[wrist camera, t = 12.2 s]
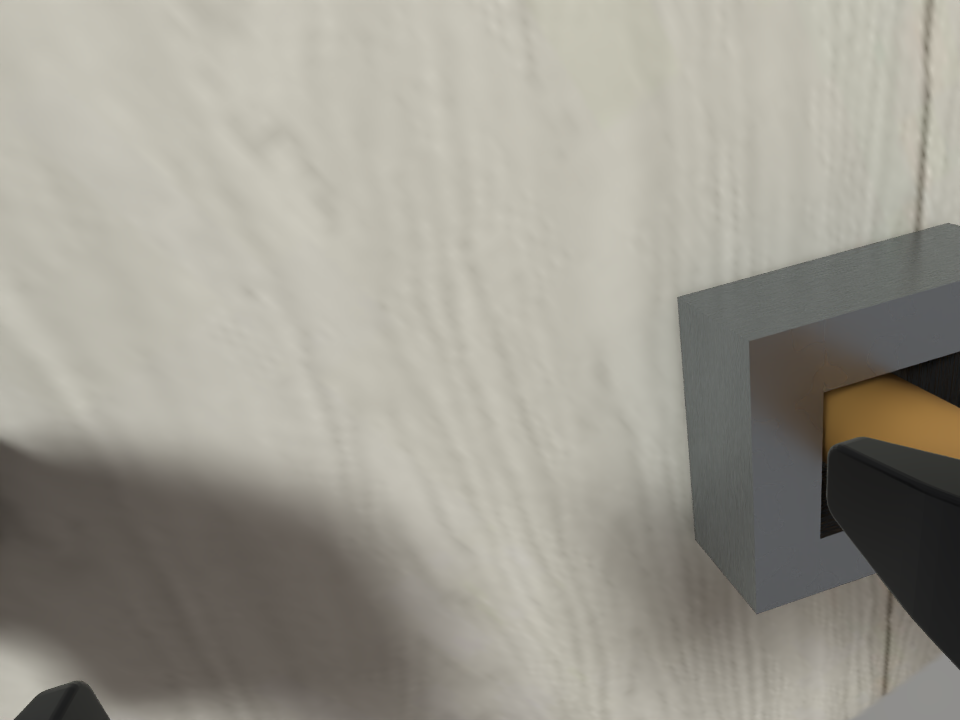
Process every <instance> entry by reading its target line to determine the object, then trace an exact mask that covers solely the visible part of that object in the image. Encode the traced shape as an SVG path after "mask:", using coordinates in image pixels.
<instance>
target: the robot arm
mask: <svg viewBox="0 0 960 720" xmlns="http://www.w3.org/2000/svg"><path fill="white" fill-rule="evenodd" d="M826 499H827V504H828V508H829V510H830V512H831V514H832V516H833V518H834V519H835V521H836V522H837V523H838V524H839V526H840V527H841V528H842V530H843V531H844V532H845V533H846V535H847V536H848V537H849V539H850V540H851V541H852V542H853V544H854V545H855V546H856V548H857V549H858V550H859V552H860V553H861V554H862V555H863V557H864V558H865V559H866V561H867V562H868V563H869V564H870V566H871V567H872V568H873V570H874V571H875V572H876V573H877V575H878V576H879V577H880V579H881V580H882V581H883V583H884V584H885V585H886V586H887V588H888V589H889V590H890V592H891V593H892V594H893V595H894V597H895V598H896V599H897V601H898V602H899V603H900V604H901V605H902V607H903V608H904V609H905V610H906V612H907V613H908V614H909V615H910V616H911V618H912V619H913V620H914V621H915V622H916V623H917V624H918V626H919V627H920V628H921V629H922V630H923V631H924V632H925V633H926V634H927V636H928V637H929V638H930V639H931V640H932V641H933V642H934V643H935V644H936V645H937V646H938V647H939V648H940V649H941V651H942V652H943V653H944V654H945V655H946V656H947V657H948V658H949V659H950V660H951V661H952V662H953V663H954V664H955V665H956V667H957V668H958V669H959V670H960V459H956V458H952V457H948V456H944V455H939V454H935V453H931V452H927V451H923V450H919V449H914V448H910V447H906V446H902V445H898V444H894V443H889V442H885V441H881V440H877V439H873V438H869V437H857V438H853V439H850V440H847V441H844V442H840V443H837V444H835V445H833V446H832V447H831V448H830V450H829V452H828V456H827V488H826ZM14 720H110V718H109V717H108V715H107V713H106V712H105V710H104V709H103V707H102V705H101V704H100V702H99V700H98V699H97V697H96V696H95V694H94V692H93V691H92V689H91V688H90V686H89V685H88V684H86V683H85V682H83V681H73V682H70V683H67V684H64V685H60V686H57V687H54V688H51V689H48V690H45V691H43V692H41V693H40V694H38V695H37V696H36V697H35V698H34V699H33V700H32V701H31V702H30V703H29V704H28V705H27V706H26V707H25V708H24V710H23V711H22V712H21V713H20V714H19V715H18V716H17V717H16V718H15V719H14Z"/></svg>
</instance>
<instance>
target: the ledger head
mask: <svg viewBox="0 0 960 720" xmlns="http://www.w3.org/2000/svg"><path fill="white" fill-rule="evenodd" d="M677 298H678V312H679V325H680V339H681V352H682V366H683V379H684V393H685V406H686V420H687V433H688V446H689V460H690V473H691V487H692V500H693V514H694V527H695V540H696V541H697V542H698V544H699V545H700V546H701V547H702V548H703V550H704V551H705V552H706V553H707V555H708V556H709V557H710V558H711V559H712V561H713V562H714V563H715V564H716V565H717V567H718V568H719V569H720V570H721V571H722V573H723V574H724V575H725V576H726V578H727V579H728V580H729V581H730V582H731V584H732V585H733V586H734V587H735V588H736V590H737V591H738V592H739V593H740V594H741V596H742V597H743V598H744V599H745V601H746V602H747V603H748V604H749V605H750V607H751V608H752V609H753V610H754V611H755V613H756V614H758V613H761V612H764V611H767V610H770V609H773V608H776V607H779V606H782V605H784V604H787V603H790V602H793V601H796V600H799V599H802V598H805V597H808V596H811V595H814V594H816V593H819V592H822V591H825V590H828V589H831V588H834V587H837V586H840V585H843V584H846V583H849V582H851V581H854V580H857V579H860V578H863V577H866V576H869V575H872V574H875V573H876V572H875V571H874V570H873V568H872V567H871V566H870V564H869V563H868V562H867V561H866V559H865V558H864V557H863V555H862V554H861V553H860V552H859V550H858V549H857V548H856V546H855V545H854V544H853V542H852V541H851V540H850V539H849V537H848V536H847V535H846V533H845V532H844V531H843V530H842V528H841V527H840V526H839V524H838V523H837V522H836V521H835V519H834V518H833V516H832V514H831V512H830V510H829V508H828V504H827V499H826V488H827V464H826V463H824V462H823V461H822V439H823V395H824V392H827V391H830V390H833V389H837V388H840V387H843V386H846V385H850V384H853V383H856V382H860V381H863V380H866V379H870V378H873V377H876V376H880V375H883V374H886V373H889V372H890V373H892V374H894V375H896V376H898V377H900V378H902V379H904V380H906V381H908V382H910V383H912V384H914V385H916V386H918V387H920V388H922V389H924V390H926V391H927V392H929V393H931V394H933V395H935V396H937V397H939V398H941V399H943V400H945V401H947V402H949V403H951V404H953V405H955V406H957V407H959V408H960V226H958V225H954V224H950V223H947V224H943V225H939V226H936V227H932V228H928V229H925V230H921V231H917V232H914V233H910V234H906V235H903V236H899V237H896V238H892V239H888V240H885V241H881V242H877V243H874V244H870V245H866V246H863V247H859V248H855V249H852V250H848V251H844V252H841V253H837V254H833V255H830V256H826V257H823V258H819V259H815V260H812V261H808V262H804V263H801V264H797V265H793V266H790V267H786V268H782V269H779V270H775V271H771V272H768V273H764V274H761V275H757V276H753V277H750V278H746V279H742V280H739V281H735V282H731V283H728V284H724V285H720V286H717V287H713V288H709V289H706V290H702V291H699V292H695V293H691V294H688V295H684V296H680V297H677Z"/></svg>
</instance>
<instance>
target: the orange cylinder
mask: <svg viewBox="0 0 960 720" xmlns="http://www.w3.org/2000/svg"><path fill="white" fill-rule="evenodd" d="M857 437H869V438H873V439H877V440H881V441H885V442H889V443H894V444H898V445H902V446H906V447H910V448H914V449H919V450H923V451H927V452H931V453H935V454H939V455H944V456H948V457H952V458H956V459H960V408H959V407H957V406H955V405H953V404H951V403H949V402H947V401H945V400H943V399H941V398H939V397H937V396H935V395H933V394H931V393H929V392H927V391H926V390H924V389H922V388H920V387H918V386H916V385H914V384H912V383H910V382H908V381H906V380H904V379H902V378H900V377H898V376H896V375H894V374H892V373H890V372H889V373H886V374H883V375H880V376H876V377H873V378H870V379H866V380H863V381H860V382H856V383H853V384H850V385H846V386H843V387H840V388H837V389H833V390H830V391H827V392H824V395H823V439H822V461H823V462H824V463H826V464H827V456H828V452H829V450H830V448H831V447H832V446H833V445H835V444H837V443H840V442H844V441H847V440H850V439H853V438H857Z"/></svg>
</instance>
